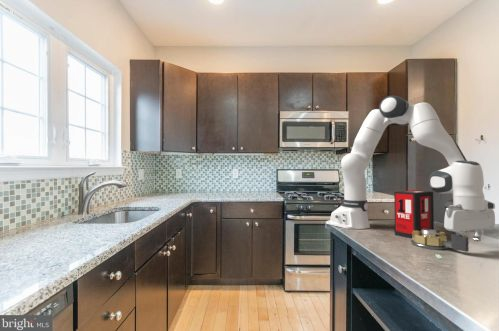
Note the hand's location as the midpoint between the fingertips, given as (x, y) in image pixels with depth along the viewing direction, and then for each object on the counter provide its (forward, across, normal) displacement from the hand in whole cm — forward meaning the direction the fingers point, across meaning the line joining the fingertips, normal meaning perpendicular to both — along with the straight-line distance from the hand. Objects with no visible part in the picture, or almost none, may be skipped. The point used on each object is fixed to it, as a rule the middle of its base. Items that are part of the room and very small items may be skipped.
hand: (470, 241), depth 93 cm
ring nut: (+2, -7, +6) cm, 9 cm away
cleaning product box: (+3, +2, +25) cm, 25 cm away
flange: (+3, -7, +10) cm, 13 cm away
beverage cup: (+3, +26, +26) cm, 37 cm away
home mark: (+4, -17, -1) cm, 17 cm away
